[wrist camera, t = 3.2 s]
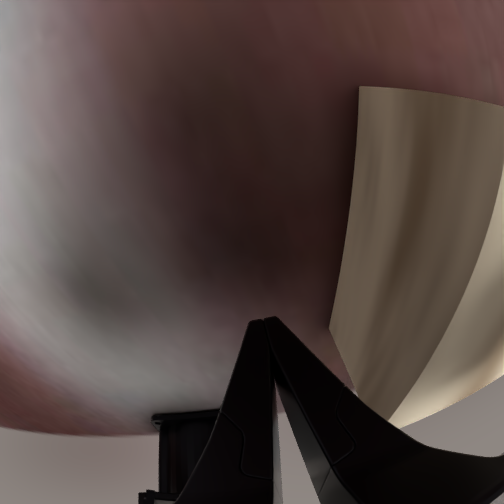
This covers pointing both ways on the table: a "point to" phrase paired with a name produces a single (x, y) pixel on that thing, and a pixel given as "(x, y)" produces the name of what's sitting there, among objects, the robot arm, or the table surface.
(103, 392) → the table surface
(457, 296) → the block
